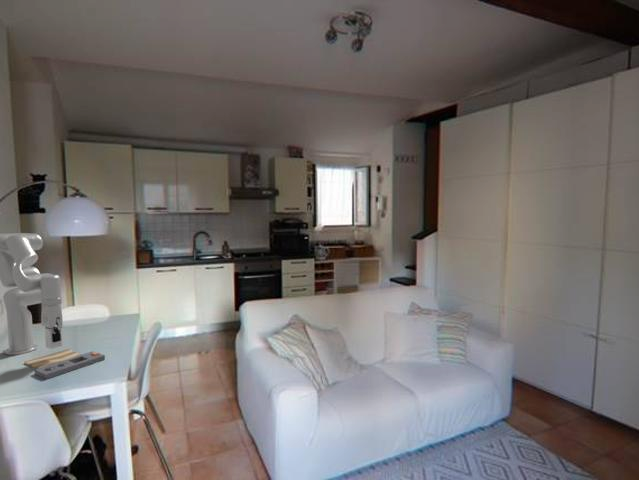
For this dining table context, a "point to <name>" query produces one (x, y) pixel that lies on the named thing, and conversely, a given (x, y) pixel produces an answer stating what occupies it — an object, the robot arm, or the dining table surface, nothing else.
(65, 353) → the wooden board
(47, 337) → the block
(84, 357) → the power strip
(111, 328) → the dining table surface
